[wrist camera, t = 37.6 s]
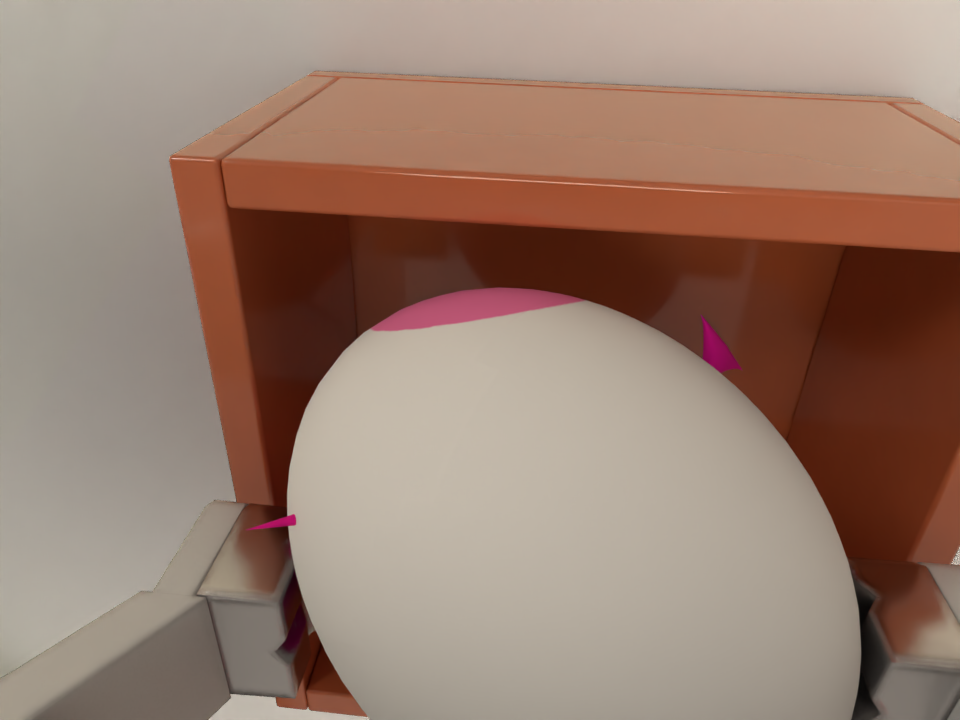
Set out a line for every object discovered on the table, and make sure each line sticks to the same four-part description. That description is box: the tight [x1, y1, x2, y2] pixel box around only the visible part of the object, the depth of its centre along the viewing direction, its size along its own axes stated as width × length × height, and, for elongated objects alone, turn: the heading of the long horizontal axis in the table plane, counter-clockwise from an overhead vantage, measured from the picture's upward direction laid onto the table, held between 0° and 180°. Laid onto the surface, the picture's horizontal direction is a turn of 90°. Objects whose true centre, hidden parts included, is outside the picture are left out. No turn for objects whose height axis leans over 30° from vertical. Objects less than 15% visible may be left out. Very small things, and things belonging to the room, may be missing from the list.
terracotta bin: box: [169, 71, 960, 717], centre depth 13 cm, size 10×10×6 cm
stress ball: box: [247, 287, 861, 720], centre depth 10 cm, size 8×8×7 cm
